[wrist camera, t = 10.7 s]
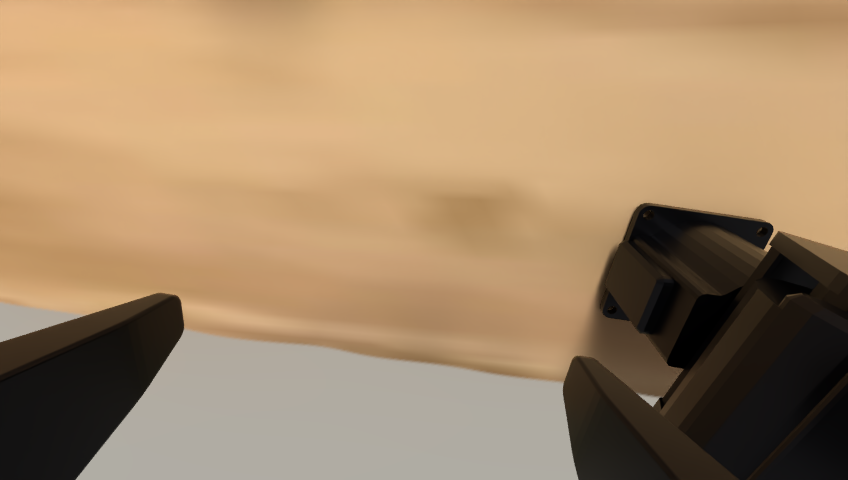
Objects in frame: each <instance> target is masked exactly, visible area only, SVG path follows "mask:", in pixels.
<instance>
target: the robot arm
mask: <svg viewBox="0 0 848 480" xmlns="http://www.w3.org/2000/svg"><path fill="white" fill-rule="evenodd" d="M649 210H651V213H650V215H649V216H647V217H643V216H644V213H645V212H646V211H649ZM761 227H762V230H761V231H760V232H759V233H757V230H758V229H760V228H761ZM773 230H774V229H773V226H772V225H771V224H770V223H768V222H766V221H764V220H760V219H754V218H747V217H740V216H733V215H727V214H720V213H713V212H706V211H699V210H693V209H686V208H679V207H672V206H666V205H659V204H652V203H644V204H641V205H640V206H639V207H637V209H636V211H635V213H634V216H633V218H632V221H631V224H630V226H629V229H628V232H627V234H626V237H625V240H624V241H623V242H622V243H620V244H619V247H618V250H617V252H616V255H615V258H614V261H613V263H612V266H611V269H610V272H609V274H608V277H607V280H606V282H605V286H606V287H607V288H606V291H605V294H604V296H603V299H602V302H601V304H600V309H601V311H602V313H603V314H604V315H605V316H606V317H608V318H614V319H621V320H627V321H631V322H632V324H633V325H634V327H635V328H636V329H637V331H638V332H639V333H643V334H646V336H647V337H648V338H649V340H650V341H651V342H652V344H653V345H654V346H655V348H656V349H657V350H658V352H659V353H660V355H661V356H662V357H663V359H664V360H665V361H666V363H667V364H668V365H669V366H671V367H677V368H682V369H684V370H683V371H682V372H681V374H680V375H679V377H678V378H677V379H676V381H675V382H674V384H673V385H672V386H671V388H670V389H669V390H668V392H667V393H666V395H665V396H664V397H663V398H659V400H658V401H657V402H656V404H655V405H654V407H652V406H651V405H649V404H648V403H647V402H646V401H645V400H643V399H642V398H641V397H640V396H639V395H637V394H636V393H635V392H634V391H633V390H631V389H630V388H629V387H628V386H627V385H625V384H624V383H623V382H622V381H621V380H620V379H618V378H617V377H616V376H615V375H614V374H612V373H611V372H610V371H609V370H608V369H606V368H605V367H604V366H603V365H602V364H600V363H599V362H598V361H597V360H595V359H594V358H590V357H583V356H576V357H574V358H573V360H572V362H571V365H570V367H569V370H568V373H567V376H566V378H565V381H564V385H563V396H564V403H565V409H566V416H567V422H568V428H569V435H570V441H571V448H572V453H573V458H574V463H575V467H576V471H577V475H578V479H579V480H848V252H847V251H844V250H841V249H838V248H834V247H831V246H828V245H824V244H821V243H818V242H814V241H811V240H808V239H804V238H801V237H798V236H794V235H791V234H788V233H784V232H781V231H778V233H777V234H776V235H775V237H774V238H773V240H772V241H771V242H770V244H769V245H771V246H772V247H771V248H770V250H769V251H768V252H766V251H764V248H765V247H766V245H767V243H768V241H769V239H770V237H771V235H772V233H773ZM756 233H757V234H756ZM611 306H614V308H613V309H611V310H607V309H608V308H609V307H611ZM183 330H184V320H183V313H182V306H181V300H180V298H179V297H178V296H176V295H171V294H165V293H156V294H153V295H150V296H147V297H144V298H140V299H137V300H134V301H131V302H128V303H124V304H121V305H118V306H115V307H112V308H109V309H105V310H102V311H99V312H96V313H93V314H89V315H86V316H83V317H80V318H77V319H74V320H70V321H67V322H64V323H61V324H57V325H54V326H51V327H48V328H45V329H42V330H38V331H35V332H32V333H29V334H26V335H22V336H19V337H16V338H13V339H10V340H7V341H3V342H0V480H76V478H77V477H78V476H79V475H80V473H81V472H82V471H83V470H84V468H85V467H86V466H87V464H88V463H89V462H90V461H91V460H92V458H93V457H94V456H95V454H96V453H97V452H98V451H99V449H100V448H101V447H102V446H103V444H104V443H105V442H106V441H107V439H108V438H109V437H110V436H111V434H112V433H113V432H114V431H115V429H116V428H117V427H118V426H119V424H120V423H121V422H122V421H123V419H124V418H125V417H126V416H127V414H128V413H129V412H130V410H131V409H132V408H133V407H134V406H135V404H136V403H137V402H138V400H139V399H140V398H141V396H142V395H143V394H144V392H145V391H146V389H147V388H148V387H149V385H150V383H151V382H152V380H153V379H154V377H155V376H156V374H157V373H158V371H159V370H160V368H161V367H162V365H163V363H164V362H165V361H166V359H167V357H168V356H169V354H170V353H171V351H172V350H173V348H174V347H175V345H176V343H177V342H178V341H179V339H180V337H181V335H182V333H183Z"/></svg>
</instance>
